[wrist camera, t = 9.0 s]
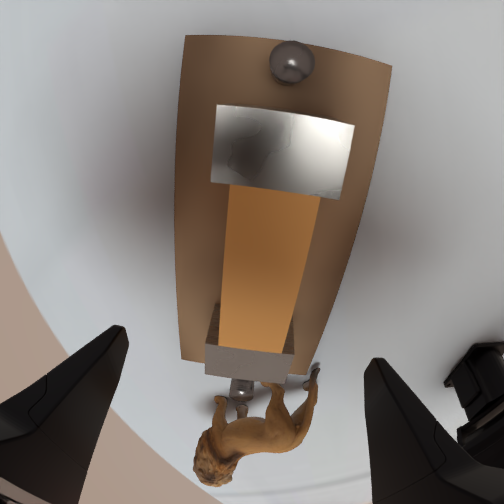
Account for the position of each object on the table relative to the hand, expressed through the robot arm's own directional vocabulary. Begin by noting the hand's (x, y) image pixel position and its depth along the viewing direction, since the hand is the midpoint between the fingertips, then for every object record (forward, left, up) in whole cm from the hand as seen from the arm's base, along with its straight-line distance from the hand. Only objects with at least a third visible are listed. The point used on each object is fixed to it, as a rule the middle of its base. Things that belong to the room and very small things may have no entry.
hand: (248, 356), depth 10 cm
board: (0, 0, -9) cm, 9 cm away
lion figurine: (-2, +17, -9) cm, 19 cm away
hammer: (0, 0, -8) cm, 8 cm away
